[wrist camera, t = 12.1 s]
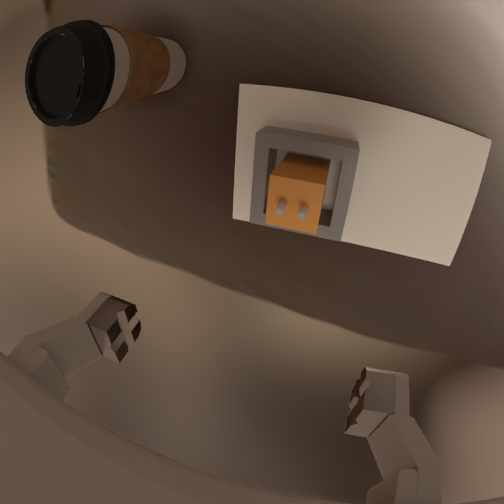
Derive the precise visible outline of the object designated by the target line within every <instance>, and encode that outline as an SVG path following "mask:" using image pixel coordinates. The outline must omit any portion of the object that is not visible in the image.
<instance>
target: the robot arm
mask: <svg viewBox="0 0 504 504" xmlns="http://www.w3.org/2000/svg"><path fill="white" fill-rule="evenodd" d="M136 313H137V308H136V305H135V304H132V303H130V302H127V301H125V300H122V299H120V298H117V297H114V296H112V295H110V294H107V293H104V292H101V293H99V294H98V295H97V296H96V297H95V298H94V299H93V300H92V301H91V302H90V303H89V304H88V305H87V306H86V307H85V308H84V309H83V311H82V312H81V313H80V314H79V315H78V316H77V317H76V318H74V317H72V318H69V319H66V320H64V321H61V322H59V323H57V324H54V325H51V326H49V327H46V328H44V329H41V330H39V331H36V332H34V333H31V334H29V335H26V336H25V337H24V338H23V339H22V340H21V342H20V343H19V344H18V345H17V346H16V347H15V348H14V349H13V351H12V352H11V353H10V354H9V355H8V356H7V357H6V356H5V355H4V354H3V353H2V352H1V351H0V504H349V503H339V502H331V501H324V500H317V499H311V498H305V497H299V496H294V495H290V494H284V493H280V492H276V491H272V490H267V489H263V488H259V487H256V486H252V485H248V484H245V483H241V482H237V481H234V480H231V479H228V478H225V477H222V476H218V475H215V474H213V473H210V472H207V471H204V470H201V469H198V468H196V467H193V466H190V465H188V464H185V463H183V462H180V461H178V460H175V459H173V458H171V457H168V456H166V455H164V454H161V453H159V452H157V451H155V450H152V449H150V448H148V447H146V446H144V445H142V444H140V443H138V442H136V441H134V440H132V439H130V438H128V437H126V436H124V435H122V434H120V433H118V432H116V431H114V430H113V429H111V428H109V427H107V426H105V425H104V424H102V423H100V422H98V421H96V420H95V419H93V418H91V417H90V416H88V415H87V414H85V413H83V412H82V411H80V410H78V409H77V408H75V407H74V406H72V405H71V404H69V403H67V402H66V401H64V398H65V397H66V396H67V394H68V393H69V391H70V390H71V387H70V385H69V383H68V382H67V380H66V379H65V378H66V377H67V376H69V375H71V374H73V373H75V372H76V371H78V370H80V369H82V368H83V367H85V366H87V365H89V364H90V363H92V362H94V361H96V360H98V359H99V358H101V357H102V356H104V357H106V358H109V359H111V360H113V361H115V362H118V363H120V362H121V361H122V359H123V358H124V357H125V355H126V354H127V352H128V345H130V344H132V343H134V342H135V341H136V340H137V338H138V337H139V334H140V331H141V322H140V319H139V318H138V317H137V316H136ZM349 407H350V408H351V412H350V413H349V414H348V416H347V420H346V427H345V434H351V435H356V436H362V437H368V438H367V439H368V442H369V444H370V447H371V449H372V452H373V454H374V457H375V459H376V462H377V464H378V467H379V469H380V471H381V474H382V477H383V479H384V481H383V482H381V483H379V484H378V485H376V486H374V487H372V488H371V489H369V490H368V496H367V501H366V504H441V498H442V484H443V468H442V466H441V464H440V462H439V461H438V459H437V457H436V455H435V454H434V452H433V450H432V448H431V447H430V445H429V443H428V442H427V440H426V438H425V436H424V435H423V433H422V431H421V430H420V428H419V426H418V425H417V423H416V421H415V420H414V418H413V417H409V376H408V374H405V373H398V372H393V371H388V370H382V369H375V368H370V367H364V368H363V370H362V372H361V376H360V379H358V380H357V381H356V382H355V384H354V386H353V389H352V391H351V395H350V400H349ZM459 504H504V497H499V498H493V499H488V500H481V501H475V502H467V503H459Z"/></svg>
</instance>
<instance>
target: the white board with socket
mask: <svg viewBox="0 0 504 504" xmlns="http://www.w3.org/2000/svg"><path fill="white" fill-rule="evenodd" d="M491 141H492V140H490V139H488V138H486V137H483V136H481V135H478V134H476V133H473V132H471V131H468V130H465V129H463V128H460V127H457V126H454V125H451V124H448V123H445V122H443V121H439V120H436V119H433V118H430V117H427V116H424V115H420V114H417V113H413V112H410V111H406V110H403V109H399V108H395V107H391V106H387V105H383V104H379V103H374V102H370V101H365V100H361V99H356V98H351V97H346V96H341V95H335V94H329V93H323V92H317V91H310V90H303V89H295V88H287V87H278V86H268V85H256V84H240V86H239V102H238V119H237V137H236V156H235V177H234V199H233V219H239V220H244V221H249V223H253V224H258V225H263V226H268V227H273V228H278V229H283V230H288V231H293V232H297V233H302V234H307V235H312V236H316V237H321V238H325V239H330V240H335V241H339V242H340V241H344V242H349V243H354V244H358V245H362V246H367V247H371V248H376V249H380V250H384V251H389V252H393V253H397V254H401V255H406V256H410V257H414V258H418V259H422V260H427V261H431V262H435V263H439V264H443V265H447V266H450V264H451V262H452V260H453V257H454V255H455V253H456V250H457V248H458V245H459V243H460V240H461V238H462V235H463V233H464V230H465V227H466V225H467V222H468V219H469V216H470V214H471V211H472V208H473V205H474V202H475V199H476V196H477V193H478V189H479V186H480V183H481V180H482V176H483V173H484V169H485V165H486V162H487V158H488V154H489V150H490V146H491ZM287 153H292V154H298V155H303V156H309V157H314V158H320V159H325V160H330V161H331V162H330V168H329V174H328V180H327V185H326V191H325V197H324V202H323V206H322V211H321V215H320V219H319V224H318V228H317V232H316V234H312V233H307V232H303V231H298V230H293V229H288V228H284V227H279V226H274V225H269V224H265V219H266V209H267V199H268V189H269V179H270V174H271V173H272V172H273V170H274V169H275V168H276V167H277V165H278V164H279V163H280V162H281V160H282V159H283V158H284V157H285V156H286V154H287Z"/></svg>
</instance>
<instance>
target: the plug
mask: <svg viewBox="0 0 504 504" xmlns="http://www.w3.org/2000/svg"><path fill="white" fill-rule="evenodd" d="M330 162H331V161H330V160H325V159H320V158H314V157H309V156H303V155H298V154H292V153H287V154H286V156H285V157H284V158H283V159H282V160H281V162H280V163H279V164H278V165H277V167H276V168H275V169H274V170H273V172H272V173H271V174H270V179H269V189H268V199H267V209H266V219H265V224H269V225H274V226H279V227H284V228H288V229H293V230H298V231H303V232H307V233H312V234H316V232H317V228H318V224H319V219H320V215H321V211H322V206H323V202H324V197H325V191H326V185H327V180H328V174H329V168H330Z"/></svg>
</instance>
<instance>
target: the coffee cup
mask: <svg viewBox="0 0 504 504" xmlns="http://www.w3.org/2000/svg"><path fill="white" fill-rule="evenodd" d="M185 69H186V57H185V53H184V51H183V49H182V48H181V46H180V45H179V44H177V43H176V42H174V41H172V40H169V39H165V38H161V37H156V36H154V35H150V34H146V33H142V32H138V31H134V30H129V29H125V28H120V27H115V26H110V25H99V24H98V23H96V22H94V21H92V20H80V21H73V22H69V23H67V24H65V25H63V26H60V27H56V28H53V29H51V30H49V31H47V32H46V33H45V34H44V35H42V36H41V37H40V38H39V40H38V41H37V42H36V44H35V45H34V47H33V49H32V51H31V53H30V56H29V58H28V62H27V66H26V72H25V87H26V94H27V98H28V101H29V104H30V106H31V108H32V110H33V112H34V113H35V115H36V116H37V117H38V118H39V119H40V120H41V121H42V122H43V123H44V124H46V125H48V126H53V127H55V126H61V125H64V126H76V125H81V124H85V123H87V122H89V121H91V120H92V119H93V118H94V117H95V116H97V115H99V114H103V113H106V112H108V111H110V110H113V109H115V108H118V107H120V106H123V105H125V104H128V103H131V102H133V101H136V100H139V99H141V98H144V97H147V96H150V95H152V94H156V93H159V92H163V91H166V90H169V89H171V88H172V87H174V86H175V85H176V84H177V83H178V82H179V81H180V80H181V78H182V77H183V75H184V72H185Z"/></svg>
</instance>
